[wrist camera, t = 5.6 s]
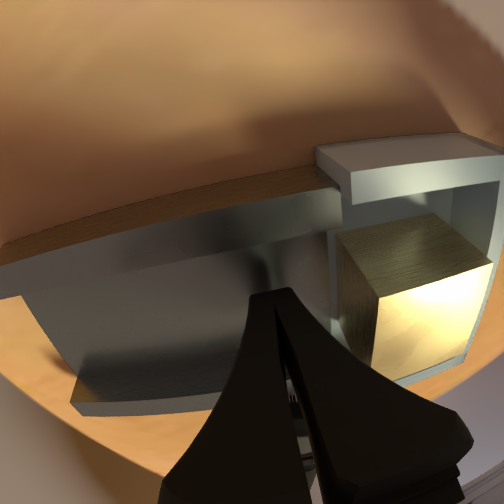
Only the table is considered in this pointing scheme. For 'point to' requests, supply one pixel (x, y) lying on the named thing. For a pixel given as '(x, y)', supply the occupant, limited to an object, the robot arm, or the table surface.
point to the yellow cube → (408, 292)
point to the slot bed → (173, 285)
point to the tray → (419, 198)
